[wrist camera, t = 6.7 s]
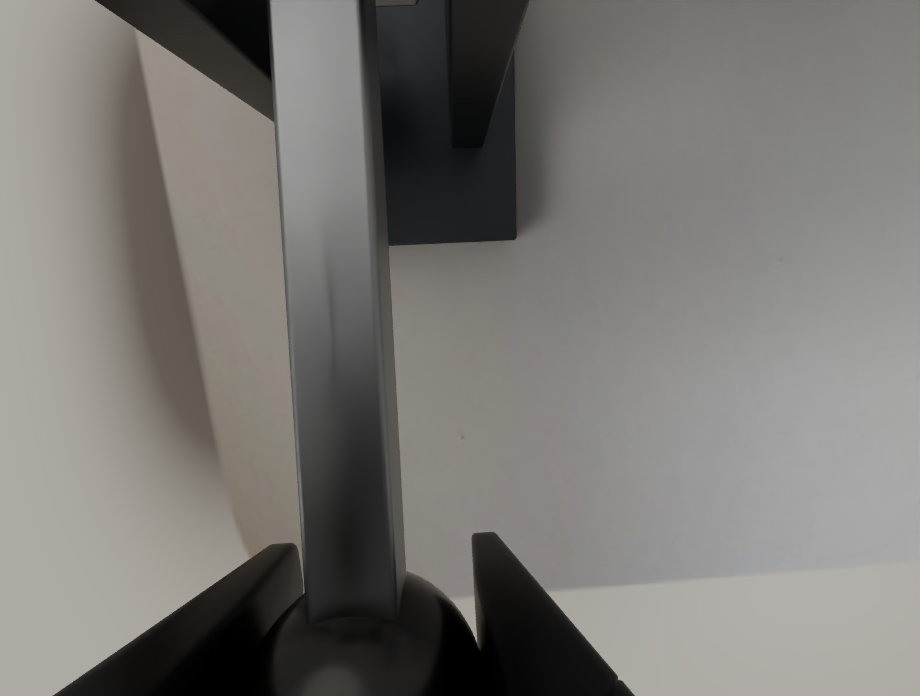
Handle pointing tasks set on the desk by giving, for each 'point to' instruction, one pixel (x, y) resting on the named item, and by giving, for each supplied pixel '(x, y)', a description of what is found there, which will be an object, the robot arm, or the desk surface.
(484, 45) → the bracket
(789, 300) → the desk surface
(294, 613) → the lever
